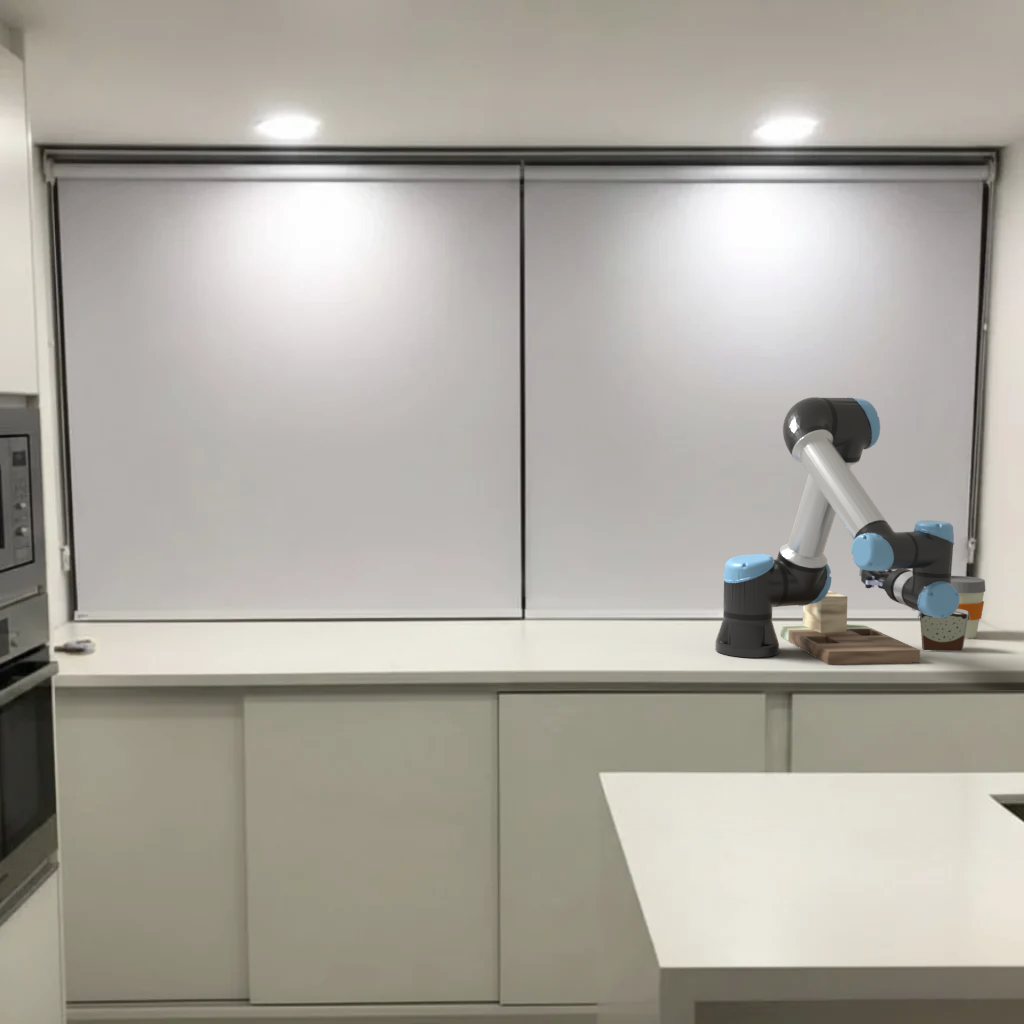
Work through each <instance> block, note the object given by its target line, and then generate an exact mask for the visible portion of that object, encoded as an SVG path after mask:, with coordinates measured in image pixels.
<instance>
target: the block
mask: <svg viewBox="0 0 1024 1024" xmlns="http://www.w3.org/2000/svg"><path fill="white" fill-rule="evenodd" d="M847 624H848V596H847V595H843V594H841V593H838V592H835V591H831V590H829V591H828V593H827V595H826V596H825V597H824V598H823V599H822V600H821V601H819V602H817V603H814V604H809V605H805V606H803V607H802V625H803V626H805V627H808V628H810V629H813V630H815V631H818V632H820V633H829V632H846V631H847Z"/></svg>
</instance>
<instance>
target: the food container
mask: <svg viewBox="0 0 1024 1024" xmlns="http://www.w3.org/2000/svg"><path fill="white" fill-rule="evenodd" d="M916 618H917V619H918V620H919V621H920V636H921V647H922V648H921V650H922V649H923V650H936V651H935V652H949V651H964V645H965V640H966V639H965V633H966V626H967V620H968V619H969V620H970V615H969V614H968V611H966V610H962V609H956V611H955V612H954V613H953V614H952V615H950V616H948V617H945V618H936V617H932V616H927V615H924V614H923V613H921V612H919V611H917V617H916ZM923 650H922V651H923Z"/></svg>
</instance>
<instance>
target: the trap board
mask: <svg viewBox="0 0 1024 1024" xmlns="http://www.w3.org/2000/svg"><path fill="white" fill-rule="evenodd" d="M780 636H781V637H780V638H782V637H783V638H782V639H784V638H785V639H787V640H788V641H787V640H786V641H787V642H789V641H790V642H789V643H791V644H792V643H793V644H792V645H794V644H795V645H794V646H796V647H797V646H798V647H797V648H799V647H800V648H799V649H801V648H802V649H801V650H802V651H804V650H805V651H804V652H806V651H807V652H806V653H808V652H809V653H810V655H811V654H812V655H811V656H813V655H814V656H813V657H815V656H816V657H817V658H816V657H815V658H816V659H818V658H819V659H818V660H819V661H821V660H822V662H823V663H825V664H827V665H867V664H869V665H870V664H877V665H878V664H913V663H912V662H920V659H921V655H920V654H921V649H919V648H916V647H914V646H912V645H910V644H907V643H905V642H903V641H900V640H898V639H897V638H894V637H892V636H889V635H887V634H886V633H883V632H880V631H878V630H877V629H874V628H871V627H869V626H867V625H865V624H862V623H850V624H849V623H847V631H846V632H829V633H820V632H818V631H815V630H813V629H810V628H808V627H805V626H803V624H789V625H788V624H781V625H780ZM785 639H784V640H785ZM809 653H808V654H809Z"/></svg>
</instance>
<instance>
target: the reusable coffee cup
mask: <svg viewBox="0 0 1024 1024" xmlns="http://www.w3.org/2000/svg"><path fill="white" fill-rule="evenodd" d="M951 576H952V579H951V585H952V586H953V587H955V589H956V590H957V592H958V594H959V597H960V601H959V606H958V608H957V609H962V610H966V611H968V614H969V615H970V620H969V619H968V620H967V626H966V633H965V638H971V639H974V638H973V637H975V638H976V637H977V633H978V626H979V623H980V620H981V619H982V615H983V610H984V605H985V604H984V603H985V602H984V601H983V600H984V593H985V592H986V581H985V579H983V578H980V577H975V576H963V575H951Z"/></svg>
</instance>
